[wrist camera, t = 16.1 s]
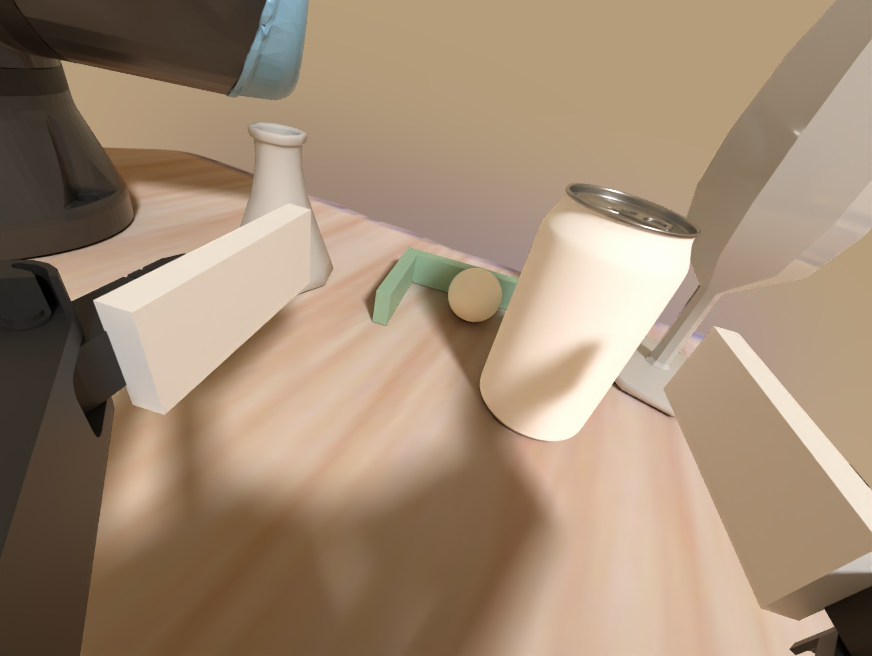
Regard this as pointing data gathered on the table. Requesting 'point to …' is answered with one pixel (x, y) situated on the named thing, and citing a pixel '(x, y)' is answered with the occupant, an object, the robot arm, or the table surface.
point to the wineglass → (778, 185)
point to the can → (582, 307)
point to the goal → (426, 280)
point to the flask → (284, 187)
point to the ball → (475, 294)
